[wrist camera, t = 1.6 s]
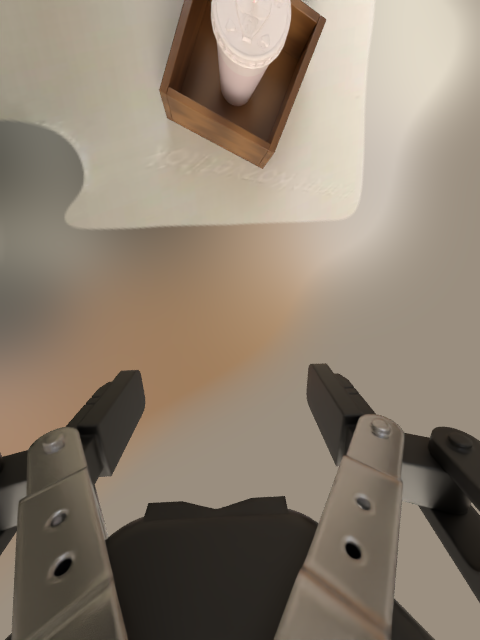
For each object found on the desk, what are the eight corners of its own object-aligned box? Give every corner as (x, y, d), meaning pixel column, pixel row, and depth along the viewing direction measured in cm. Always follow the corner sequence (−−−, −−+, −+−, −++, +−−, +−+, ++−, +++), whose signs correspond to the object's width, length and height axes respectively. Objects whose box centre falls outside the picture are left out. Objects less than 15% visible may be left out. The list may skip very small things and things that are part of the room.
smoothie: (269, 63, 28) (329, -104, 15) (256, 127, 29) (300, 29, 16) (214, 41, 27) (224, -163, 13) (204, 110, 28) (204, -12, 15)
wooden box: (166, 118, 28) (159, 90, 23) (204, -10, 26) (204, -73, 21) (262, 168, 31) (273, 153, 26) (305, 59, 28) (326, 18, 23)
